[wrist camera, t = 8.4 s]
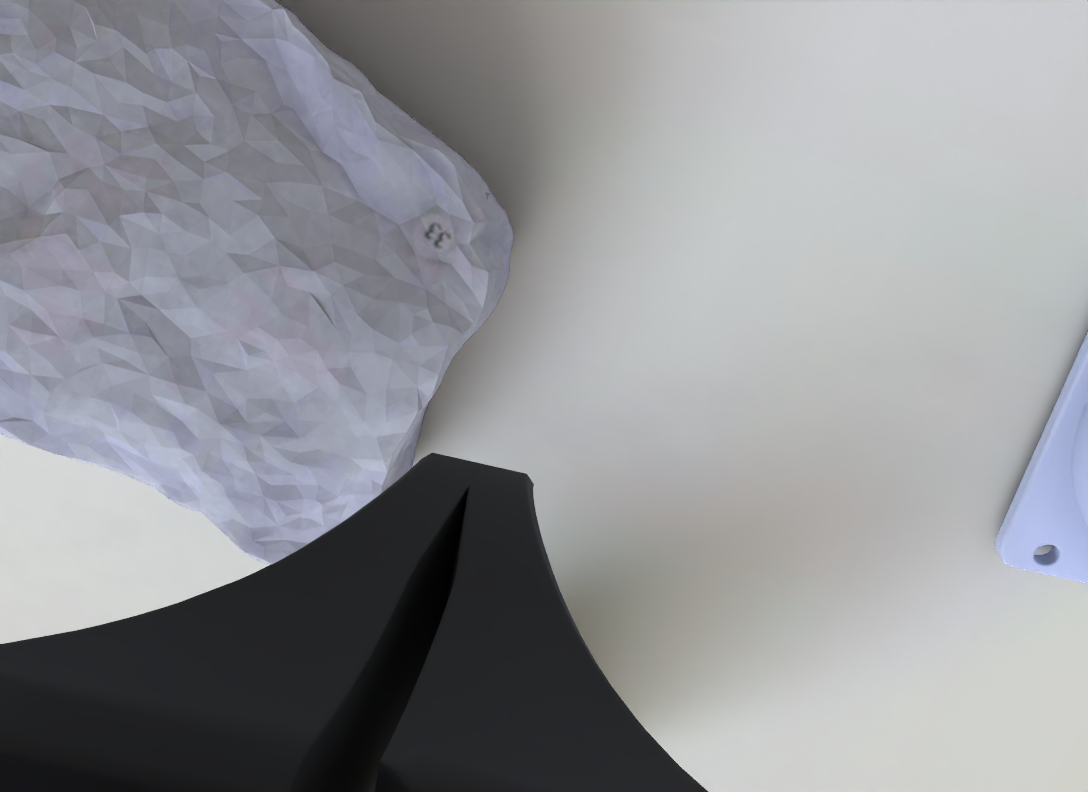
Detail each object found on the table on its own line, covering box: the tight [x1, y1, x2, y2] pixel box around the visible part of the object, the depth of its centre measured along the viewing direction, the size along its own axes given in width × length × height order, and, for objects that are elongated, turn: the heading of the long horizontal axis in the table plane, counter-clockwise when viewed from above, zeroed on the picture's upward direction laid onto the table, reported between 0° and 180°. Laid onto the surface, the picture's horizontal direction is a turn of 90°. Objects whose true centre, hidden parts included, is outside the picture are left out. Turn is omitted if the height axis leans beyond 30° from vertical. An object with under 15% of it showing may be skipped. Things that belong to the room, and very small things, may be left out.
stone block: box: [0, 0, 513, 565], centre depth 20 cm, size 12×5×10 cm
